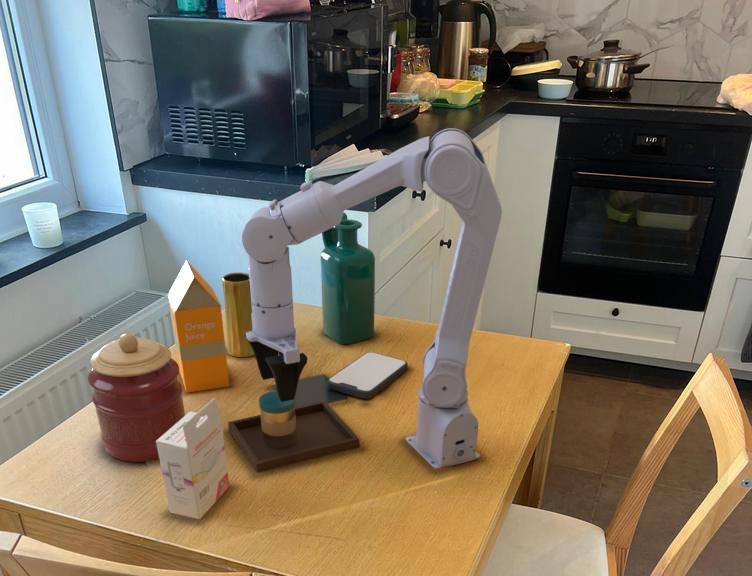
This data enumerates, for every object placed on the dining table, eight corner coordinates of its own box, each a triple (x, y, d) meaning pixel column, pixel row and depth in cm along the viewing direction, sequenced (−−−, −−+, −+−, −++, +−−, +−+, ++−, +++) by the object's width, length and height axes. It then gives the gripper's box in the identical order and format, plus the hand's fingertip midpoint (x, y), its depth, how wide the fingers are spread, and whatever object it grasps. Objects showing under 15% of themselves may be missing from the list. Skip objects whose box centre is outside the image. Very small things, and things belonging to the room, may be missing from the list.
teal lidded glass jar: (302, 443, 118) (300, 403, 114) (269, 451, 116) (265, 410, 112) (289, 427, 122) (287, 387, 118) (257, 435, 120) (253, 395, 116)
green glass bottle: (378, 337, 152) (379, 223, 139) (341, 347, 148) (339, 230, 135) (351, 320, 158) (351, 210, 146) (316, 329, 155) (311, 217, 142)
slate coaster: (347, 401, 130) (347, 398, 130) (292, 413, 127) (292, 410, 126) (324, 376, 138) (324, 373, 137) (271, 388, 134) (271, 385, 134)
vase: (257, 358, 144) (251, 283, 136) (225, 357, 144) (216, 283, 136) (262, 344, 149) (256, 271, 140) (230, 343, 149) (222, 271, 141)
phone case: (367, 358, 144) (323, 389, 132) (367, 350, 143) (323, 380, 131) (410, 369, 141) (369, 402, 129) (410, 361, 140) (369, 393, 128)
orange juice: (185, 392, 132) (168, 279, 121) (178, 371, 139) (162, 261, 128) (230, 386, 134) (218, 273, 123) (221, 365, 141) (209, 256, 130)
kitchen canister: (85, 445, 118) (59, 337, 108) (152, 412, 127) (133, 309, 117) (140, 474, 112) (118, 362, 102) (207, 437, 120) (192, 331, 110)
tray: (359, 449, 118) (359, 438, 117) (257, 475, 112) (256, 464, 111) (324, 410, 128) (324, 400, 127) (229, 432, 122) (227, 421, 121)
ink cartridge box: (200, 481, 111) (186, 389, 102) (230, 488, 109) (220, 395, 101) (167, 515, 104) (150, 419, 95) (199, 523, 103) (185, 427, 94)
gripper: (228, 287, 111) (236, 373, 118) (262, 324, 100) (269, 415, 108) (274, 280, 113) (280, 365, 121) (312, 315, 103) (315, 405, 110)
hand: (277, 388), depth 115 cm, fingers open, 7 cm apart
